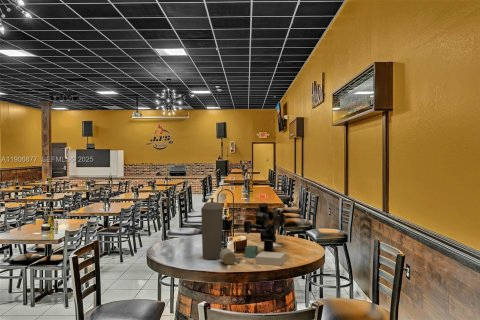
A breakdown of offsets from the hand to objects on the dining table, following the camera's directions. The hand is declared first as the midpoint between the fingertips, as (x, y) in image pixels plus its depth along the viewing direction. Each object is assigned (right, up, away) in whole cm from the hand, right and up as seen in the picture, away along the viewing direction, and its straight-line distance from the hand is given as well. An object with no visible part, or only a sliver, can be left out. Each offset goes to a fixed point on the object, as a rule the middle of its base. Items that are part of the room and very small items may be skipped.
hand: (254, 234), depth 245 cm
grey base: (+9, -15, -4) cm, 18 cm away
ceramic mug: (-14, -15, -7) cm, 22 cm away
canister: (-25, -15, +6) cm, 30 cm away
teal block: (-2, -15, +9) cm, 18 cm away
